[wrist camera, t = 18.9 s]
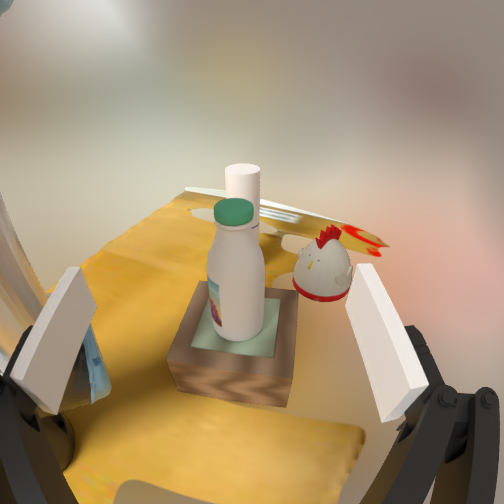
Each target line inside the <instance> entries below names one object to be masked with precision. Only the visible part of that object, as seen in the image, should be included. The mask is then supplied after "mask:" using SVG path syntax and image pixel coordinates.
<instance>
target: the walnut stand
mask: <svg viewBox="0 0 504 504" xmlns="http://www.w3.org/2000/svg"><path fill="white" fill-rule="evenodd" d="M298 292H299V291H297V290H285V289H275V288H265V295H264V319H263V326H262V329H261V330H260V332H259V333H258V334H257V335H256V336H255V337H253V338H251V339H249V340H246V341H241V342H235V341H229V340H226V339H224V338H222V337H221V336H220V335H219V334H218V333H217V332H216V331H215V329H214V326H213V321H212V313H211V306H210V298H209V289H208V281H199V283H198V285H197V287H196V290H195V292H194V294H193V297H192V299H191V301H190V303H189V306H188V308H187V310H186V313H185V315H184V317H183V320H182V322H181V324H180V327H179V329H178V331H177V334H176V336H175V338H174V341H173V343H172V345H171V348H170V350H169V353H168V355H167V357H166V361H167V363H168V366H169V369H170V371H171V374H172V376H173V379H174V381H175V384H176V386H177V389H178V391H181V392H186V393H190V394H195V395H200V396H206V397H211V398H217V399H223V400H229V401H235V402H242V403H250V404H258V405H266V406H275V407H286V406H287V401H288V397H289V393H290V388H291V384H292V378H293V368H294V355H295V342H296V327H297V311H298V310H297V309H298Z"/></svg>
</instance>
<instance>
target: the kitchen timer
mask: <svg viewBox="0 0 504 504" xmlns="http://www.w3.org/2000/svg"><path fill="white" fill-rule="evenodd" d="M341 232H342V231H341V230H339V228H337V227H335V226H334V225H332V224H331V227H330V228H329V227H328V226H327V228H326V232H324V231H323V230H321V233H320V238H316V240H314V241H313V242H311V243H310V244H309V245H308V246H307V247H306V248H305V249H303V248H301V249H300V250H299V252H298V255H297V258H298V261H297V263H296V265H295V267H294V272H293V285H294V287H295V289H296V290H297V291H299V293H300V294H302V295H303V296H304V297H307V298H309V299H311V300H315V301H319V302H332V301H337V300H339V299H341V298H343V297H344V296H345V295H346V294H347V293H348V291H349V289H350V285H351V281H352V269H353V266H351V265H350V259H349V256H348V253H347V251H346V250H345V248H344V246H343V245H342V244H341V243H340V242H339V241H338V240H339V237H340V235H341Z"/></svg>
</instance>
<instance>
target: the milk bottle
mask: <svg viewBox="0 0 504 504" xmlns="http://www.w3.org/2000/svg"><path fill="white" fill-rule="evenodd" d="M253 216H254V207H253V204H252V203H251V202H250V201H248V200H246V199H242V198H227V199H223V200H221V201H219V202H217V203H216V204H215V206H214V218H215V224H216V226H217V231H216V235H215V239H214V241H213V243H212V246H211V248H210V250H209V254H208V258H207V279H208V289H209V298H210V306H211V313H212V321H213V326H214V329H215V331H216V332H217V333H218V334H219V335H220V336H221V337H222V338H224V339H226V340H229V341H235V342H241V341H246V340H249V339H251V338H253V337H255V336H256V335H257V334H258V333H259V332H260V330H261V329H262V326H263V319H264V295H265V263H264V257H263V253H262V250H261V248H260V246H259V244H258V242H257V240H256V238H255V236H254V233H253V230H252V224H253V222H254V219H253Z"/></svg>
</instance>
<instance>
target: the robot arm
mask: <svg viewBox="0 0 504 504" xmlns="http://www.w3.org/2000/svg"><path fill="white" fill-rule="evenodd" d="M12 3H13V0H0V16H1V15H2V14H3V13H4V12H6V11H7V10H8V9H9V8H10V7H11V5H12ZM345 308H346V311H347V313H348V316H349V319H350V322H351V325H352V328H353V331H354V334H355V336H356V340H357V343H358V346H359V349H360V352H361V355H362V358H363V361H364V364H365V368H366V371H367V374H368V377H369V380H370V384H371V387H372V391H373V394H374V398H375V401H376V404H377V408H378V412H379V415H380V419H381V422H382V423H383V422H388V421H392V420H396V419H399V418H400V417H401V415H402V414H403V413H405V416H406V420H405V421H404V422H403V423H402V424H401V425H400V426H399V427H398V428H397V431H399V430H400V429H401V430H400V432H399V434H398V436H397V438H396V441H395V442H394V445H393V446H392V448H391V451H390V452H389V455H388V456H387V458H386V460H385V462H384V463H383V465H382V467H381V469H380V471H379V473H378V474H377V476H376V478H375V480H374V481H373V483H372V485H371V486H370V488H369V489H368V491H367V493H366V494H365V496H364V497H363V499H362V500H361V502H360V504H423V502H424V500H425V498H426V496H427V494H428V492H429V490H430V487H431V485H432V483H433V481H434V478H435V476H436V479H435V484H434V488H433V493H432V497H431V501H430V504H493V503H494V497H495V490H496V483H497V473H498V462H499V443H500V414H499V399H498V396H497V394H496V392H495V391H493V390H492V389H491V388H488V387H482V388H481V389H479V390H478V391H477V392H476V393H475V394H464V393H457V391H456V390H455V389H454V388H452V387H451V386H448V385H446V384H445V383H444V381H443V379H442V377H441V374H440V372H439V370H438V368H437V365H436V363H435V361H434V359H433V356H432V354H430V350H429V348H428V346H427V345H426V342H425V340H424V338H423V336H422V334H421V333H420V331H419V330H417V329H416V328H415V326H414V325H412V326H405V327H404V326H403V324H402V322H401V320H400V318H399V316H398V314H397V311H396V309H395V308H394V305H393V303H392V302H391V299H390V298H389V295H388V293H387V292H386V290H385V288H384V286H383V284H382V282H381V280H380V278H379V276H378V275H377V273H376V271H375V269H374V267H373V265H372V264H371V263H370V264H357V265H356V270H355V273H354V277H353V280H352V284H351V287H350V291H349V295H348V298H347V301H346V305H345ZM96 309H97V306H96V304H95V302H94V299H93V297H92V295H91V292H90V290H89V287H88V285H87V282H86V280H85V277H84V275H83V272H82V270H81V267H68V268H67V270H66V271H65V273H64V274H63V276H62V278H61V279H60V281H59V282H58V284H57V286H56V287H55V289H54V291H53V292H52V294H50V293H45V291H44V289H43V287H42V286H41V284H40V282H39V280H38V278H37V276H36V274H35V272H34V271H33V269H32V267H31V265H30V263H29V261H28V259H27V257H26V254H25V252H24V250H23V248H22V246H21V244H20V241H19V239H18V237H17V235H16V232H15V230H14V227H13V225H12V223H11V220H10V218H9V215H8V213H7V210H6V207H5V205H4V202H3V199H2V196H1V193H0V504H79V503H78V502H77V500H76V498H75V496H74V494H73V493H72V491H71V489H70V487H69V485H68V483H67V481H66V479H65V477H64V475H63V473H62V471H63V470H64V469H65V468H66V467H67V466H68V464H69V462H70V461H71V458H72V456H73V452H74V446H75V438H74V432H73V429H72V426H71V424H70V422H69V420H68V419H67V417H66V416H65V415H64V414H63V412H66V411H69V410H72V409H75V408H78V407H81V406H84V405H87V404H90V405H91V404H94V402H95V401H97V400H99V399H102V398H104V397H106V396H108V395H109V394H110V392H111V390H112V384H111V380H110V378H109V375H108V372H107V369H106V366H105V363H104V361H103V358H102V355H101V352H100V349H99V346H98V343H97V340H96V337H95V334H94V331H93V328H92V325H91V320H92V318H93V315H94V313H95V311H96Z"/></svg>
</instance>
